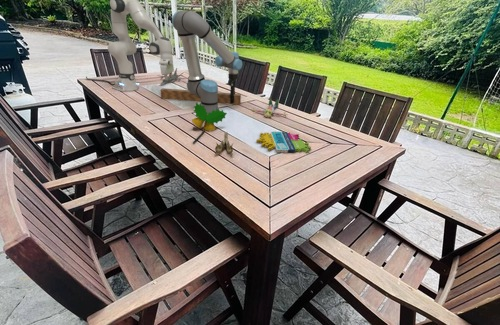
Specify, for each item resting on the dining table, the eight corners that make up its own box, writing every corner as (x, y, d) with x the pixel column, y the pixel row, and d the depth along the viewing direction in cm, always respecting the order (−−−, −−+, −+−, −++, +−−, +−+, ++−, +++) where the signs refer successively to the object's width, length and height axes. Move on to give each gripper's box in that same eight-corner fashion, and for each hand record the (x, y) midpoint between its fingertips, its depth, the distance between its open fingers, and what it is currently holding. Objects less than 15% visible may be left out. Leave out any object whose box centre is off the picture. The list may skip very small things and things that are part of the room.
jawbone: (234, 135, 144) (233, 125, 135) (233, 160, 138) (232, 151, 129) (217, 135, 144) (216, 125, 135) (216, 160, 138) (214, 150, 129)
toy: (291, 100, 208) (287, 111, 182) (290, 109, 211) (286, 120, 185) (257, 96, 213) (248, 105, 187) (256, 105, 216) (248, 115, 190)
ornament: (218, 133, 171) (224, 110, 169) (221, 134, 163) (227, 111, 161) (186, 125, 162) (192, 101, 160) (189, 126, 155) (195, 101, 153)
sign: (313, 150, 142) (258, 149, 139) (312, 153, 143) (258, 152, 140) (301, 132, 164) (254, 130, 161) (301, 134, 165) (254, 133, 162)
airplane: (151, 78, 274) (150, 68, 269) (181, 76, 288) (180, 67, 282) (158, 87, 246) (157, 77, 241) (191, 85, 259) (191, 75, 254)
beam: (240, 102, 218) (240, 94, 214) (240, 104, 213) (240, 95, 209) (163, 97, 218) (162, 88, 215) (161, 98, 214) (160, 89, 210)
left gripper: (167, 58, 211) (168, 76, 217) (158, 62, 193) (160, 81, 199) (174, 59, 210) (176, 76, 217) (166, 62, 193) (168, 82, 199)
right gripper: (229, 71, 212) (229, 99, 223) (227, 75, 196) (226, 105, 207) (238, 71, 212) (237, 99, 223) (236, 76, 196) (235, 106, 207)
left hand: (168, 79), depth 208 cm, fingers open, 8 cm apart
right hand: (232, 102), depth 215 cm, fingers closed on beam, 5 cm apart
